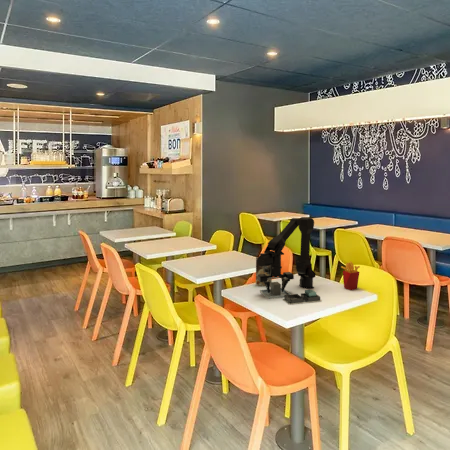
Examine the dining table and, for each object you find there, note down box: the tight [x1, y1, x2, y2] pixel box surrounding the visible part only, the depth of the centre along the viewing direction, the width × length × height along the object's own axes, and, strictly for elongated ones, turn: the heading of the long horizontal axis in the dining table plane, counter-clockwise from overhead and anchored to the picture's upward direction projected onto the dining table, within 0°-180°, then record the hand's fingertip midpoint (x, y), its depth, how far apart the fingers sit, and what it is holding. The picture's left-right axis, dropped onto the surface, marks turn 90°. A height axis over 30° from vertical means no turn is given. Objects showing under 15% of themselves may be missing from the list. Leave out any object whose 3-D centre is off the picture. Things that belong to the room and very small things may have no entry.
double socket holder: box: [282, 289, 323, 306], centre depth 219 cm, size 18×8×5 cm, turn 104°
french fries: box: [340, 260, 361, 291], centre depth 239 cm, size 9×8×15 cm
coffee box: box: [255, 256, 273, 287], centre depth 247 cm, size 9×6×16 cm
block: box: [270, 281, 282, 296], centre depth 230 cm, size 4×5×6 cm
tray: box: [259, 288, 291, 300], centre depth 230 cm, size 13×13×2 cm
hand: (275, 292), depth 230 cm, fingers open, 7 cm apart
